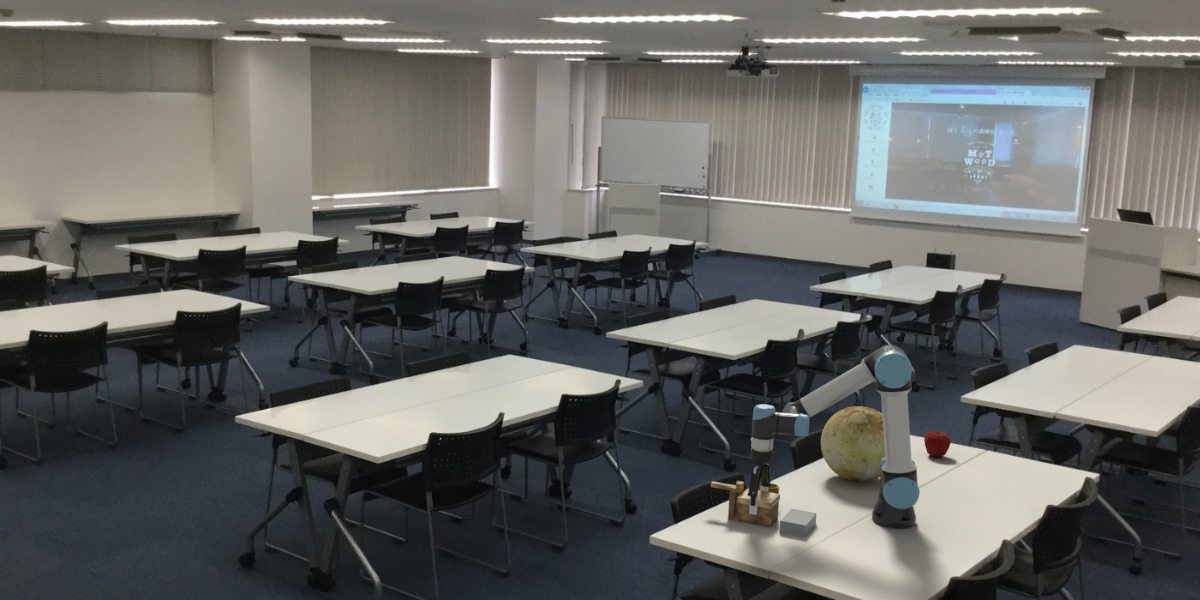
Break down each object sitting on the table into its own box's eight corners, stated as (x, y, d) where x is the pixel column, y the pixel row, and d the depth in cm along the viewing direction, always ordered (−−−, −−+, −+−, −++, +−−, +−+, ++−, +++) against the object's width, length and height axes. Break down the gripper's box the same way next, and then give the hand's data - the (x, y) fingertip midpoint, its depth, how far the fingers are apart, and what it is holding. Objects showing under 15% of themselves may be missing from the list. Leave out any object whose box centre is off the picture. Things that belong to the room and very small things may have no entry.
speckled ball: (904, 478, 420) (910, 406, 416) (881, 497, 395) (887, 421, 391) (833, 464, 436) (838, 394, 432) (807, 482, 411) (812, 408, 407)
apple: (924, 459, 448) (926, 432, 446) (921, 452, 458) (923, 426, 456) (951, 461, 446) (953, 434, 444) (947, 454, 456) (949, 428, 455)
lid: (779, 502, 368) (780, 494, 368) (770, 511, 358) (770, 503, 358) (747, 496, 373) (747, 488, 373) (737, 505, 364) (737, 497, 363)
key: (743, 490, 369) (744, 482, 369) (741, 492, 367) (741, 484, 366) (713, 484, 374) (713, 476, 374) (710, 487, 372) (710, 478, 371)
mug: (782, 508, 374) (775, 480, 375) (755, 514, 377) (748, 486, 378) (785, 503, 386) (778, 477, 387) (758, 509, 388) (751, 483, 390)
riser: (815, 524, 365) (816, 513, 364) (805, 536, 352) (805, 525, 352) (790, 519, 369) (791, 508, 368) (779, 531, 356) (780, 520, 356)
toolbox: (777, 519, 368) (779, 488, 367) (770, 527, 360) (772, 495, 359) (736, 511, 375) (737, 480, 373) (727, 519, 367) (729, 487, 365)
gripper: (761, 439, 375) (758, 497, 378) (740, 455, 354) (737, 517, 357) (781, 442, 372) (778, 501, 375) (762, 459, 351) (758, 521, 354)
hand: (758, 509), depth 366 cm, fingers closed on lid, 11 cm apart
